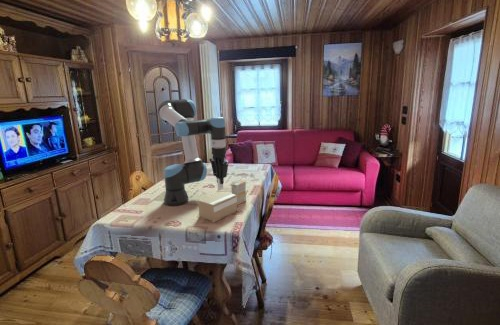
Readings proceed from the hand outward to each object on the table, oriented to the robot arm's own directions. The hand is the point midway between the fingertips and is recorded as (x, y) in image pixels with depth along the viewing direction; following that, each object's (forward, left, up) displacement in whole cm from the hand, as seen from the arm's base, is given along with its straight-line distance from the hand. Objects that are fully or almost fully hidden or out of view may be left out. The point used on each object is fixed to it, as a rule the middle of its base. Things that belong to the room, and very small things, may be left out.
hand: (220, 189), depth 154 cm
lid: (-3, 0, -6) cm, 7 cm away
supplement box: (-5, +20, -16) cm, 26 cm away
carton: (-3, 0, -15) cm, 16 cm away
